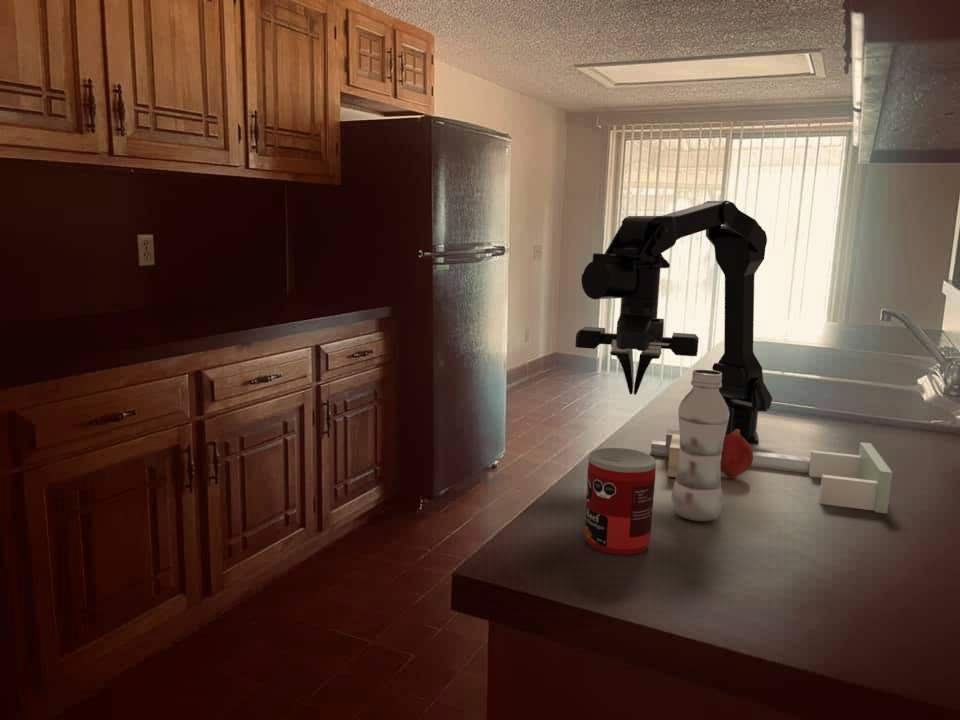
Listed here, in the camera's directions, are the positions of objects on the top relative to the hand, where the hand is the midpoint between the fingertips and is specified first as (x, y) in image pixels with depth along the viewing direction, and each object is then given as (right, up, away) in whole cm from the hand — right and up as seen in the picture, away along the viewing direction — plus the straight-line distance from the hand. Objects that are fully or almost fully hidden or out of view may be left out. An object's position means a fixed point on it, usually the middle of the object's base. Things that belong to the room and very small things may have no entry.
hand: (633, 393), depth 117 cm
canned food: (-8, -17, -28) cm, 33 cm away
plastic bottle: (+4, -16, -19) cm, 25 cm away
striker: (+8, -12, +2) cm, 14 cm away
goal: (+30, -14, -7) cm, 34 cm away
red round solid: (+15, -13, -3) cm, 20 cm away
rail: (+20, -12, +5) cm, 24 cm away
